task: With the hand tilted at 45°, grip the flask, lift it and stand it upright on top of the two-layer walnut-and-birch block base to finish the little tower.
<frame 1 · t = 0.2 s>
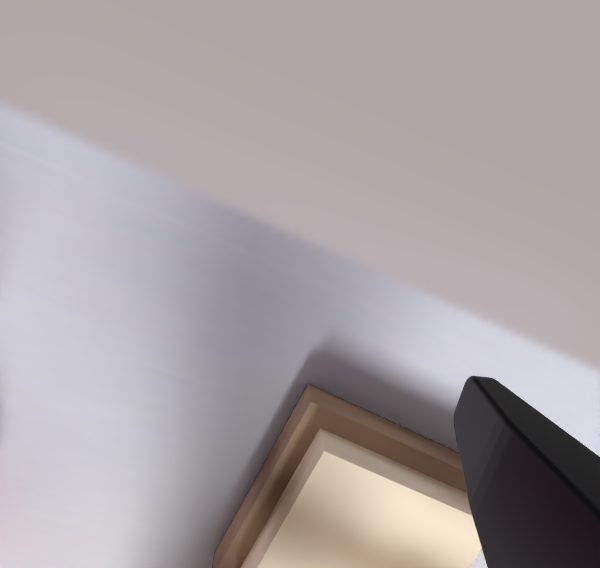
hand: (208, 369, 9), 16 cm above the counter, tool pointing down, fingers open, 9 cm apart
tower base: (351, 510, 28), on the counter
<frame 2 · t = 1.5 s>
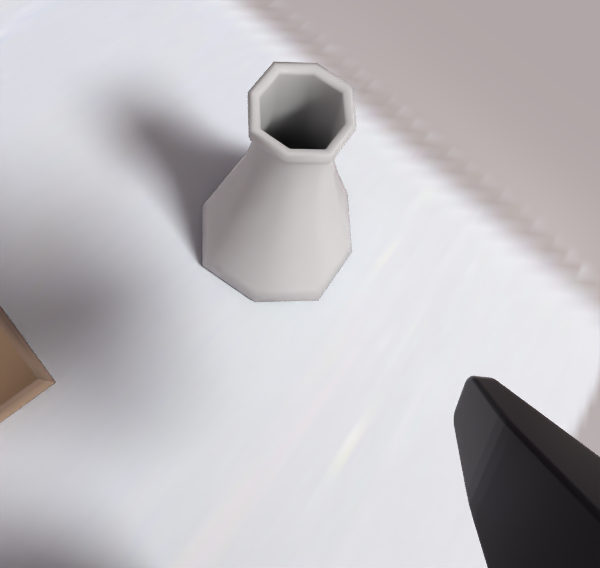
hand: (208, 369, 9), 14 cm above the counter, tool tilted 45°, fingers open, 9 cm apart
flask: (276, 232, 24), on the counter
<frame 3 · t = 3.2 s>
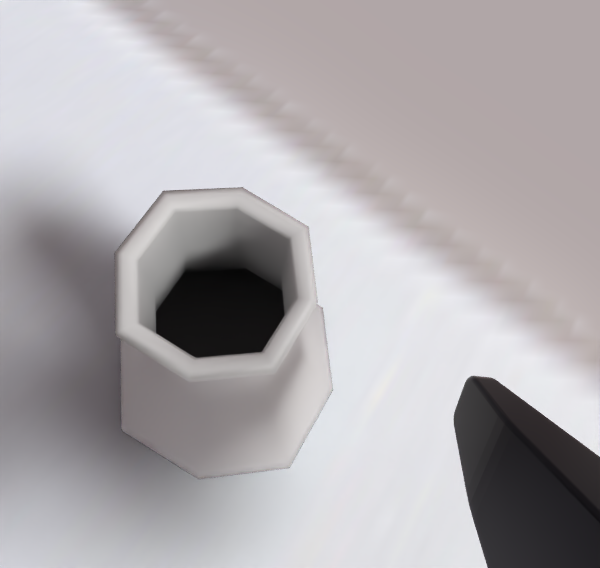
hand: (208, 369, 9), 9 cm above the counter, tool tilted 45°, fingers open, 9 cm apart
flask: (228, 367, 18), on the counter
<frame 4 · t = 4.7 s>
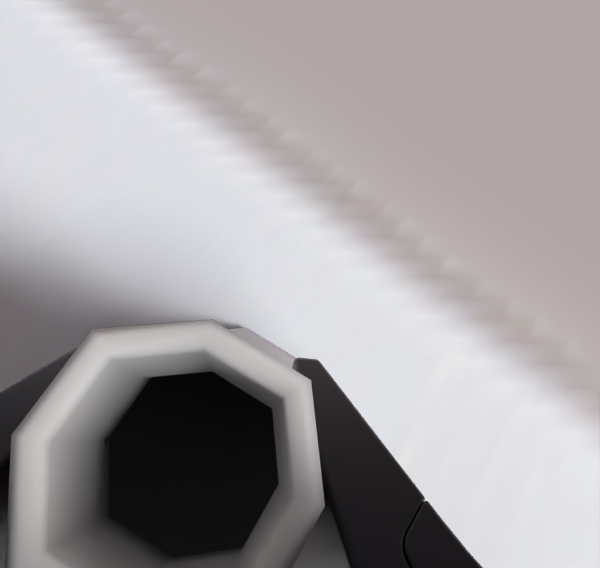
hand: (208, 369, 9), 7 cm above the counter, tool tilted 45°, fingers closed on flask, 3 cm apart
flask: (215, 450, 15), on the counter, touching gripper
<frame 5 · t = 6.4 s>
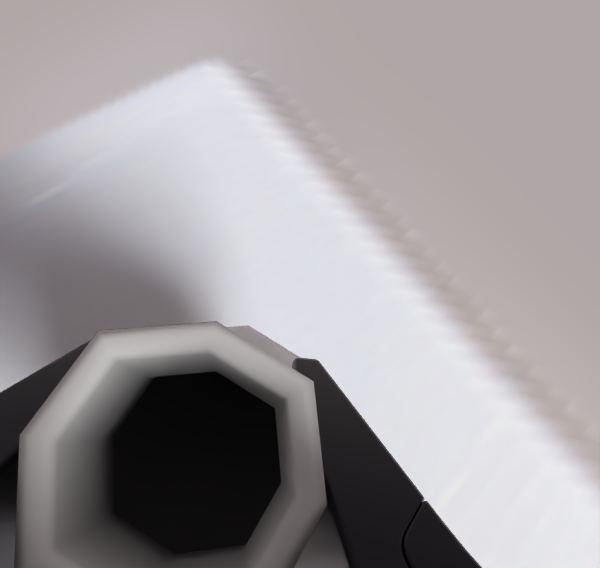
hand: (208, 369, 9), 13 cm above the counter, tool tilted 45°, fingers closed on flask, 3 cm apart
flask: (217, 447, 15), point 6 cm above the counter, touching gripper
when the fingers open (12 cm above the counter, at t = 7.9 s): flask stays where it is, resting on tower base.
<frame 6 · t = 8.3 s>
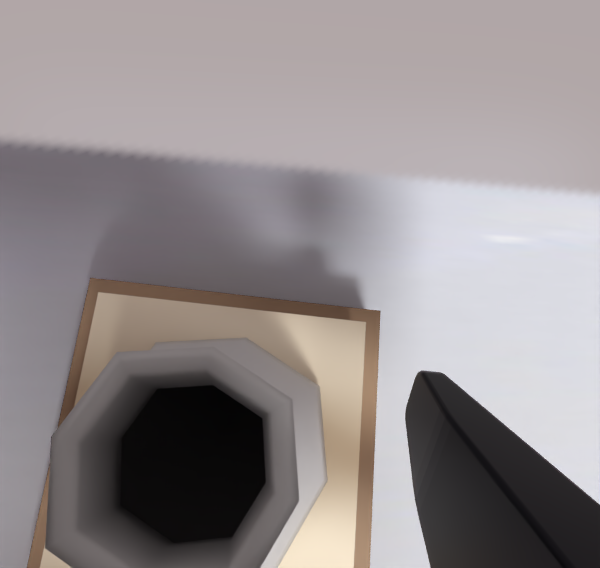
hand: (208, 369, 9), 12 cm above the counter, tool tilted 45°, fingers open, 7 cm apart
flask: (214, 450, 16), point 4 cm above the counter, touching tower base
tower base: (221, 445, 20), on the counter
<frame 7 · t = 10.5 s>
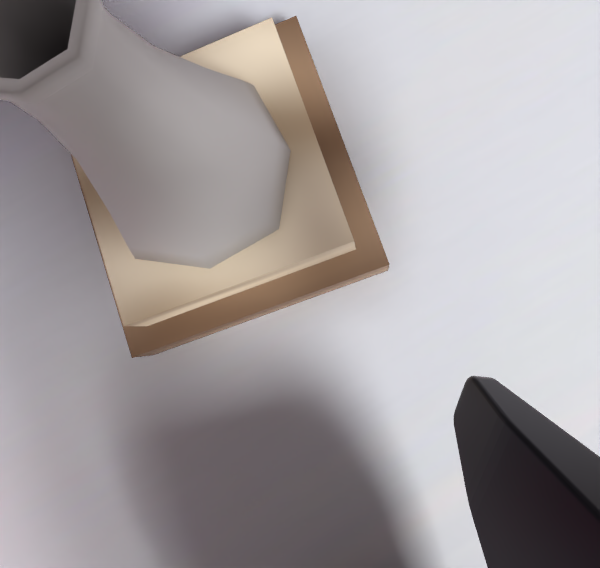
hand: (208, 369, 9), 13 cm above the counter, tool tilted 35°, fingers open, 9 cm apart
flask: (198, 175, 19), point 4 cm above the counter, touching tower base
tower base: (228, 197, 23), on the counter
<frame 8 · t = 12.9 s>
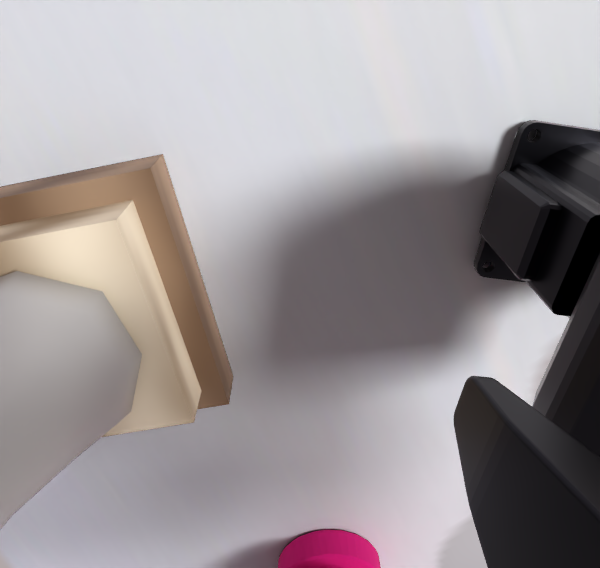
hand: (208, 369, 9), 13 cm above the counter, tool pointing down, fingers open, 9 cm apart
flask: (50, 350, 20), point 4 cm above the counter, touching tower base
pepper mill: (328, 558, 32), on the counter
tower base: (82, 299, 23), on the counter
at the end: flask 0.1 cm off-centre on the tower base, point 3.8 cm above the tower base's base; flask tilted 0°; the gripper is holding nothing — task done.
